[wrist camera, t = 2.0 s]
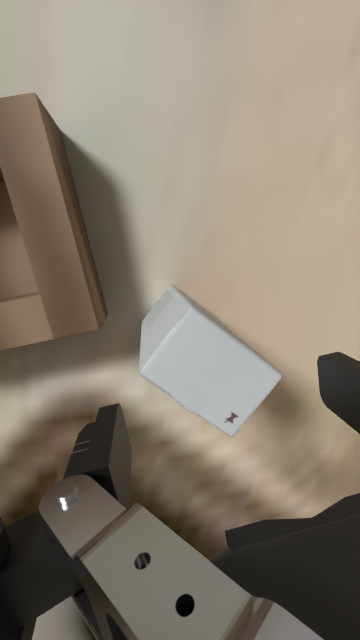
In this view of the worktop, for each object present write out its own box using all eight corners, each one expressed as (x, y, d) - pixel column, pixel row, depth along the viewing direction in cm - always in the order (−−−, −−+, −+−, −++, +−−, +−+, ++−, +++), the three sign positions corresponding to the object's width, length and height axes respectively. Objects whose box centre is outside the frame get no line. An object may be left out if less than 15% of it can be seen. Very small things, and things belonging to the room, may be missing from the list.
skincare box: (224, 323, 26) (288, 378, 14) (194, 360, 27) (232, 443, 15) (169, 280, 25) (192, 303, 13) (139, 320, 25) (134, 377, 14)
